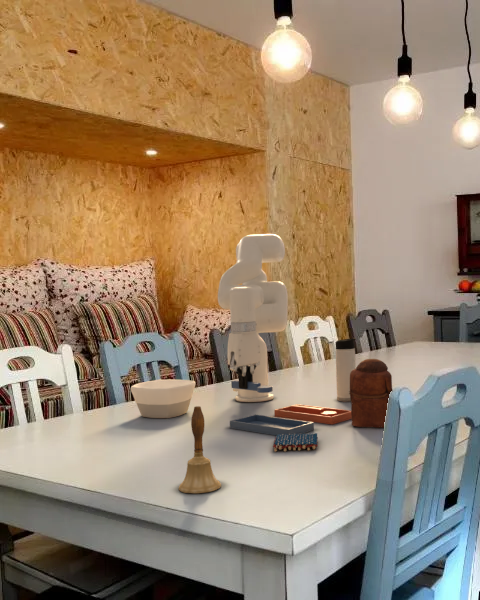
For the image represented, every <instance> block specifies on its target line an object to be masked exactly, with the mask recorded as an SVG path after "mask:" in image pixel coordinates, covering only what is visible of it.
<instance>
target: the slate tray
mask: <svg viewBox="0 0 480 600" xmlns="http://www.w3.org/2000/svg"><path fill="white" fill-rule="evenodd" d="M229 428H230V429H233V430H239V431H245V432H253V433H259V434H265V435H271V436H276V437H277V435H279V434H281V435H282V434H283V435H285V434H287V435H289V434H290V435H291V434H303V433H304V434H306V433H308V432H309V433H310V432H311V431H314V430H315V422H311V421H303V420H296V419H289V418H282V417H275V416H270V415H262V414H252V415H248V416H244V417H240V418H235V419H231V420H229Z"/></svg>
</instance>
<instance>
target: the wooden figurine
mask: <svg viewBox="0 0 480 600" xmlns="http://www.w3.org/2000/svg"><path fill="white" fill-rule="evenodd" d="M392 377H393V376H392V374H391V372H390V371H389V368H388V365H387V364H386V363H385V362H384V361H382V360H381V359H377V358H366V359H364V360H362V361H360V362H359V363H358V365H356V369H354V370H352V371H351V373H350V399H351V401H350V403H351V406H350V407H351V408H350V409H351V410H350V411H351V414H352V419H351V426H353V427H357V428H378V429H379V428H383V429H385V428H384V422H385V416H386V410H387V403H388V398H389V394H390V392H391V391H392V392H393V380H392V379H393V378H392Z"/></svg>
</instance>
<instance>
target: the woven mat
mask: <svg viewBox="0 0 480 600" xmlns="http://www.w3.org/2000/svg"><path fill="white" fill-rule="evenodd" d="M318 439H319V437H318V433H317V432H314V433H313V432H312V433H311V432H309V433H302V434H291V435H290V434H289V435H287V434H285V435H283V434H282V435H281V434H279V435H277V436H276V437H274V441H273V445H272V447H273V451H274V452H277V451H278V450H279V451H280V450H283V452H287V449H288V450H289V451H291V450H293V451H296V450H297V451H301V450H305V449H307V451H311V449H312V450H315V449H316V447H318V443H319V442H318Z"/></svg>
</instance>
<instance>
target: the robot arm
mask: <svg viewBox="0 0 480 600" xmlns="http://www.w3.org/2000/svg"><path fill="white" fill-rule="evenodd" d="M285 256H286V247H285V243H284V240H283V239H282V237H280V235H277V234H274V233H260V234H259V233H257V234H248V235H245V236H243V237H241V239H240V240H239V242H238V243H237V245H236V247H235V258H236V262H235V263H234V264H233V265H232V266H231V267H228V269H227V270H225V272H223V274H222V275H221V277H220V279H219V284H218V289H217V303H218V305H219V307H220V308H221V309H223V310H229V314H230V315H229V316H230V333H229V334H228V339H227V352H226V353H227V354H226V355H227V365H229V371H232V372H234V373H235V374H236V376H238V381H239V388H241V389H235V388H232V391H233V392H236V393H237V395H235V397H234V399H235V401H236V402H242V403H260V402H267V401H271V400H273V399H274V393H271V392H267V393H259V392H257V391H252V390H244V389H247V388H248V385H247V383H248V382H256V383H261V386H263V385H269V370H268V369H269V367H268V348H267V343H266V342H265V341H264V339H263V338H262V337H261V336H260V334H263V333H264V334H265V333H280V332H283V331H285V329H286V328H287V325H288V315H289V314H288V313H289V312H288V309H289V306H288V305H289V295H288V289H287V286H286V284H285V283H284V282H282V281H277V280H275V281H273V280H272V281H268V275H267V273H266V272H265V270H263V264H264V263H280V262H282V261H283V260H284V259H285Z"/></svg>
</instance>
